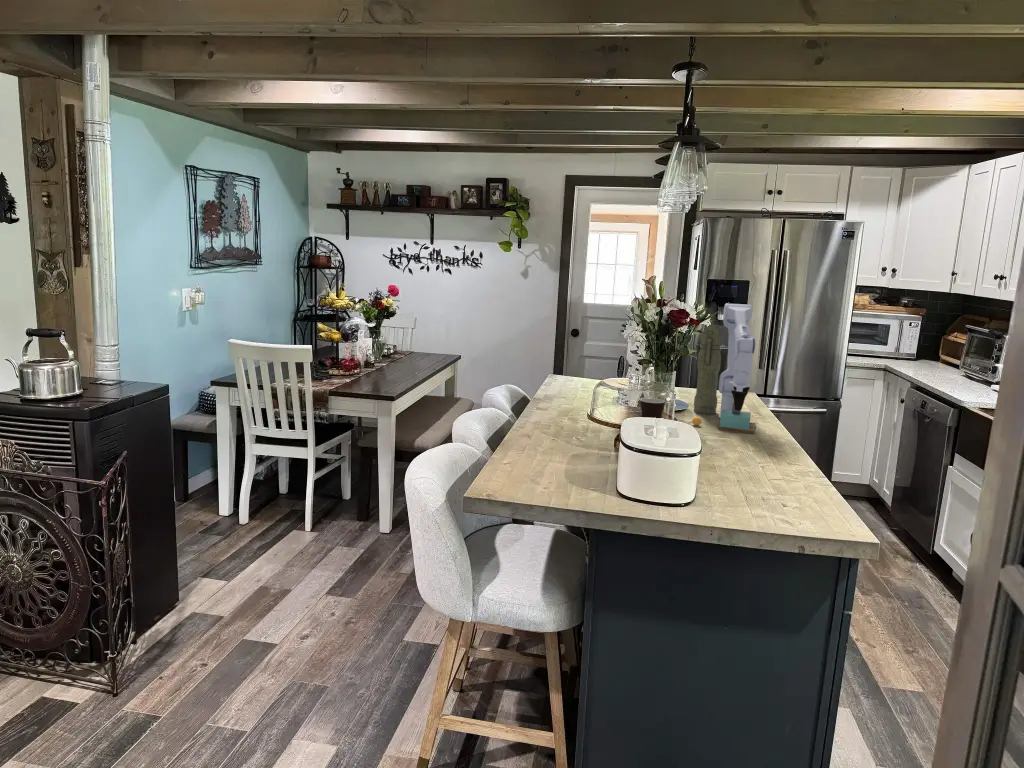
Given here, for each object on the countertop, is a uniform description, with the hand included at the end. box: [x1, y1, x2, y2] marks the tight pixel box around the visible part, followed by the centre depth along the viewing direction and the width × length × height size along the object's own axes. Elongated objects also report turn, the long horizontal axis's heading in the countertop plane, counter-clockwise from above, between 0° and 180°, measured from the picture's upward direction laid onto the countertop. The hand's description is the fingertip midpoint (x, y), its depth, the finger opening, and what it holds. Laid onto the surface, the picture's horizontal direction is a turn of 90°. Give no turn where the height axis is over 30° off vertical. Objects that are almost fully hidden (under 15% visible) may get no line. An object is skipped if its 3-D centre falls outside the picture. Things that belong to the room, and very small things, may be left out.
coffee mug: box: [639, 397, 666, 418], centre depth 245 cm, size 12×9×10 cm
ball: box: [691, 416, 702, 427], centre depth 250 cm, size 3×3×3 cm
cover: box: [719, 402, 752, 430], centre depth 247 cm, size 10×10×8 cm
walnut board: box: [718, 422, 757, 435], centre depth 249 cm, size 14×12×1 cm
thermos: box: [693, 323, 722, 415], centre depth 271 cm, size 9×12×35 cm
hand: (738, 408), depth 247 cm, fingers open, 7 cm apart
